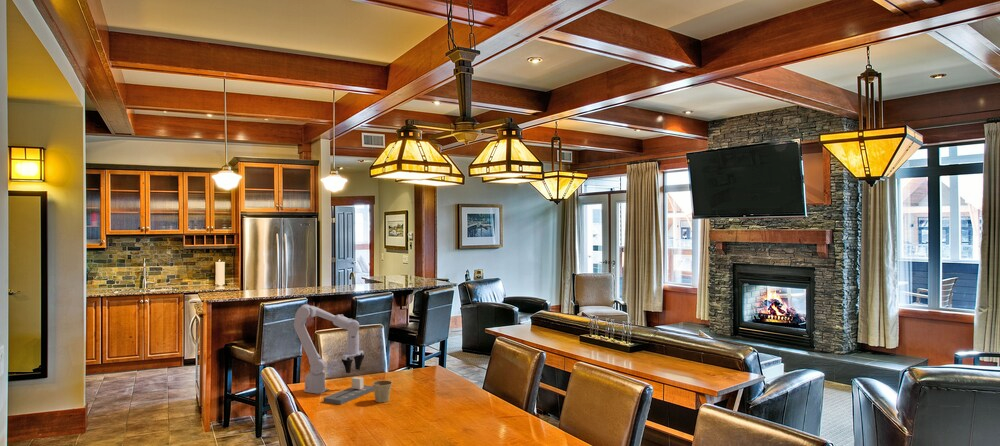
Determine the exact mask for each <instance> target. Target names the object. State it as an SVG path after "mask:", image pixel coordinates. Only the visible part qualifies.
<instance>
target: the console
mask: <svg viewBox="0 0 1000 446" xmlns="http://www.w3.org/2000/svg"><path fill="white" fill-rule="evenodd" d="M371 392H374V387H373V385H365V384H364V388H362V389H353V388H352V386H350V387H347V388H345V389H343V390H340V391H338V392H335V393H333V394H330V395H327V396H325V397H323V403H327V404H333V405H339V406H341V405H344V404H346V403H348V401H349V402H350V401H353V400H355V399H357V398H360V397H362V395H363V396H364V395H367V394H369V393H371Z"/></svg>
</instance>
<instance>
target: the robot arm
mask: <svg viewBox="0 0 1000 446" xmlns="http://www.w3.org/2000/svg"><path fill="white" fill-rule="evenodd" d="M309 317H311V318H314V317H320V318H322V319H325V320H328V321H330V322H332V324H333V325H334V326H336V327H338V328H341V329H343V330H347V349H346V350H347V352H346V353H345V354H343V355H342V357H341V362H342V364H343V366H344V368H345V369H344V370H345V373H346V374H351V371H352V364H353V361H354V366H355V370H356V371H357V370H359V371H360V370H361V366H362V362H363V360H364V358H365V355H364V351H365V350H362V349H361V350H360V331H359V330H360V323H359V321H357V320H356V319H353V318H348V317H346V316H344V314H342V313H341V314H336V315H334V314H332V313H331V312H328V311H326V310H324V309H322V308H319V307H317V306H315V305H310V304H308V303H304V304H302V305H301V306H300V307H299V308H298V309H297V310H296V312H295V314H294V321H293V329H294V330H295V332H296V334H297V336H298V339H299V342H300V344H301V345H302V348H303V350H304V352H305V353H306V356H307V358H308V363H309V366H310V367H309V370H310V372H308V373H307V374H306V375H305V378H304V390H303V392H304V393H309V394H310V393H312V394H316V395H318V394H322V393H325V392H326V391H329V390H330V389H329V388H326V371H325V370H324V368H325V366H326V362H325V360H324V359H323V358H322V357H321V355H320V354H319V353H318V351H317V349H316V347H315V344H314V343H313V341H312V338H311V336H310V334H309V332H308V329H307V327H306V325H305V324H306V322H307V321H308V318H309ZM352 358H353V359H354V360H353V359H352Z"/></svg>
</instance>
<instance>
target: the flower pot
mask: <svg viewBox="0 0 1000 446" xmlns="http://www.w3.org/2000/svg"><path fill="white" fill-rule="evenodd" d="M371 384H372V386H373V387H374V391H373V392H374V401H375V402H376V403H387V402H389V401H390V394H391V388H392V385H393V381H391V380H387V379H386V380H385V379H384V380H381V379H380V380H376V381H373V382H372V383H371Z"/></svg>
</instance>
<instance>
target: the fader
mask: <svg viewBox="0 0 1000 446" xmlns="http://www.w3.org/2000/svg"><path fill="white" fill-rule="evenodd" d="M364 379H365V378H364V377H362V376H361V377H360V376H354V377H351V387H352V388H353V389H362V388H364V385H365V384H364V381H365V380H364Z"/></svg>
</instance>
